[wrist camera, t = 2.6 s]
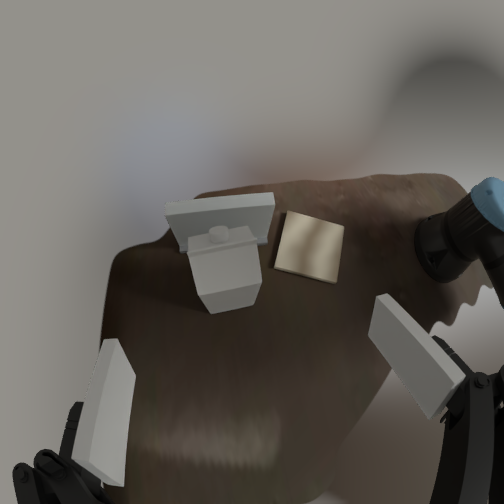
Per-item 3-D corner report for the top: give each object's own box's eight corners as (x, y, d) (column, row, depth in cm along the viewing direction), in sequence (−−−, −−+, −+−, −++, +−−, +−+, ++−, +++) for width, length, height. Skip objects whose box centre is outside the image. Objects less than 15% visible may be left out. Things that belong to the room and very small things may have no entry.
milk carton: (253, 305, 44) (266, 272, 26) (210, 314, 43) (192, 287, 25) (243, 264, 46) (249, 207, 28) (202, 273, 45) (182, 221, 27)
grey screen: (263, 224, 49) (271, 186, 38) (266, 244, 48) (276, 210, 36) (180, 232, 48) (165, 196, 36) (180, 253, 46) (164, 222, 35)
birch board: (342, 228, 50) (344, 226, 49) (334, 283, 46) (336, 282, 45) (286, 213, 50) (287, 210, 49) (273, 268, 46) (274, 266, 45)
